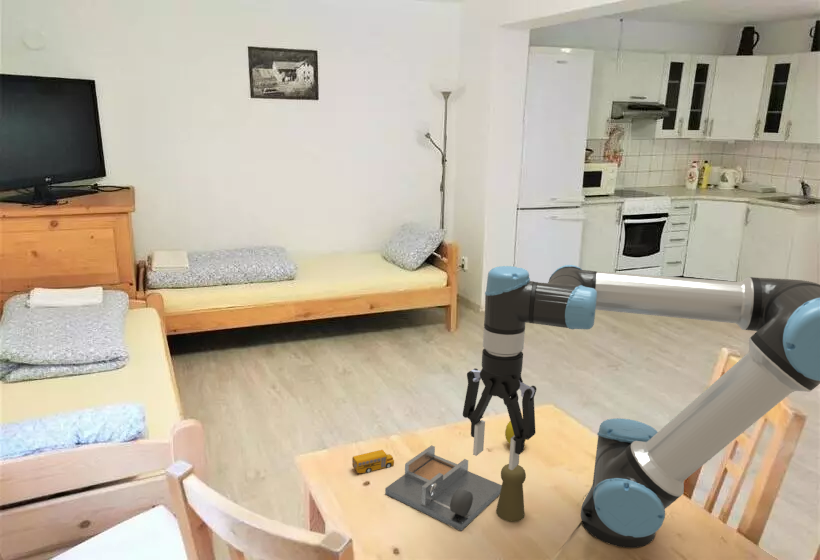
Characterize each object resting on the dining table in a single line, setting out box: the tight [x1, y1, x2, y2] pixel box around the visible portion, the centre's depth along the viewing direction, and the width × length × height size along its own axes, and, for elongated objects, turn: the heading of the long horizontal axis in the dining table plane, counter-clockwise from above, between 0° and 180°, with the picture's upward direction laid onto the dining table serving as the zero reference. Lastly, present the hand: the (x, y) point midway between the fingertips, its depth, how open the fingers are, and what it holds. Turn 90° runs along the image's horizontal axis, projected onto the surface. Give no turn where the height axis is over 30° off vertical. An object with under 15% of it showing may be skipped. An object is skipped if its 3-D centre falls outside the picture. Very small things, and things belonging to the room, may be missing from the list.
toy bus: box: [351, 449, 395, 474], centre depth 145 cm, size 3×10×4 cm, turn 117°
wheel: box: [450, 488, 473, 516], centre depth 126 cm, size 3×5×5 cm, turn 143°
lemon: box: [504, 421, 526, 445], centre depth 155 cm, size 6×6×8 cm
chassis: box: [384, 445, 502, 532], centre depth 135 cm, size 20×18×6 cm
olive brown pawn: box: [495, 463, 527, 523], centre depth 128 cm, size 6×6×11 cm
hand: (495, 459), depth 119 cm, fingers open, 7 cm apart
